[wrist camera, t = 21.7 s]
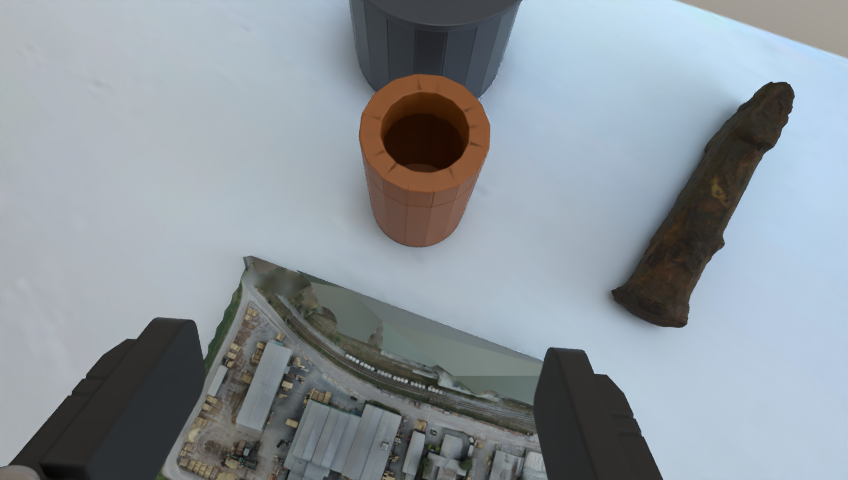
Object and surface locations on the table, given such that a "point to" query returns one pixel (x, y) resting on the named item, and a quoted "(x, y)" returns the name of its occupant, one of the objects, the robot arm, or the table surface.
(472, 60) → the tin
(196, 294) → the table surface
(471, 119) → the jar
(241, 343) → the model
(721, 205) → the hand tool
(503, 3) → the tin lid
